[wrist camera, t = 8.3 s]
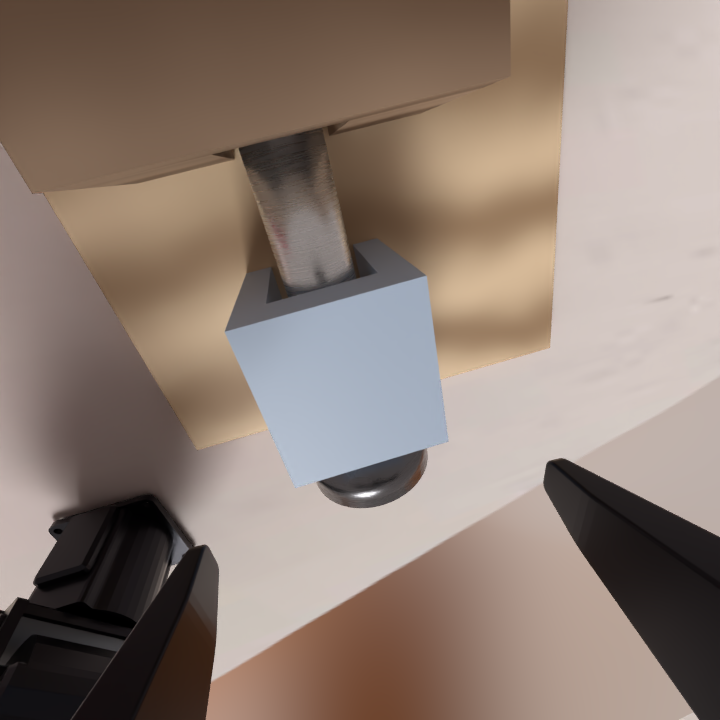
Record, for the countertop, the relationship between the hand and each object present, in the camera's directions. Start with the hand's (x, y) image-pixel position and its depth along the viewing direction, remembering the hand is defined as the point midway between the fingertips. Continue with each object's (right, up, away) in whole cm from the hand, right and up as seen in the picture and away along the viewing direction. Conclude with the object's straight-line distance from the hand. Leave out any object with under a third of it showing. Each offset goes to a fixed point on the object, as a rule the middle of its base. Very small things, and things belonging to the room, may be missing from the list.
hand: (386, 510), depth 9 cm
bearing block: (-2, +10, +9) cm, 13 cm away
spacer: (-2, +6, +9) cm, 11 cm away
